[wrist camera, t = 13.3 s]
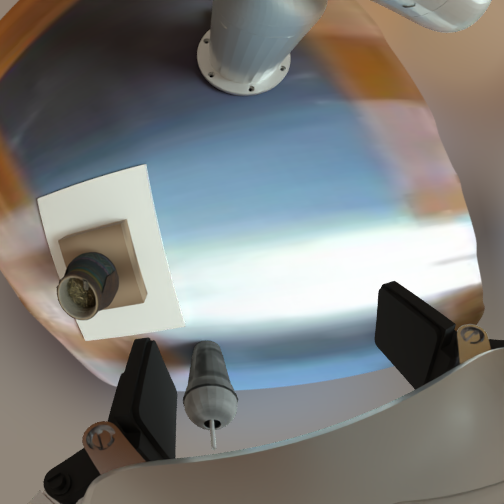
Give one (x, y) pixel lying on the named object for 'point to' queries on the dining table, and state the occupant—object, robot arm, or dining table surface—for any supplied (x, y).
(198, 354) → the beverage cup
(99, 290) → the mate gourd
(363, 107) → the dining table surface
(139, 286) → the walnut plinth
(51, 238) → the board
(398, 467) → the robot arm
